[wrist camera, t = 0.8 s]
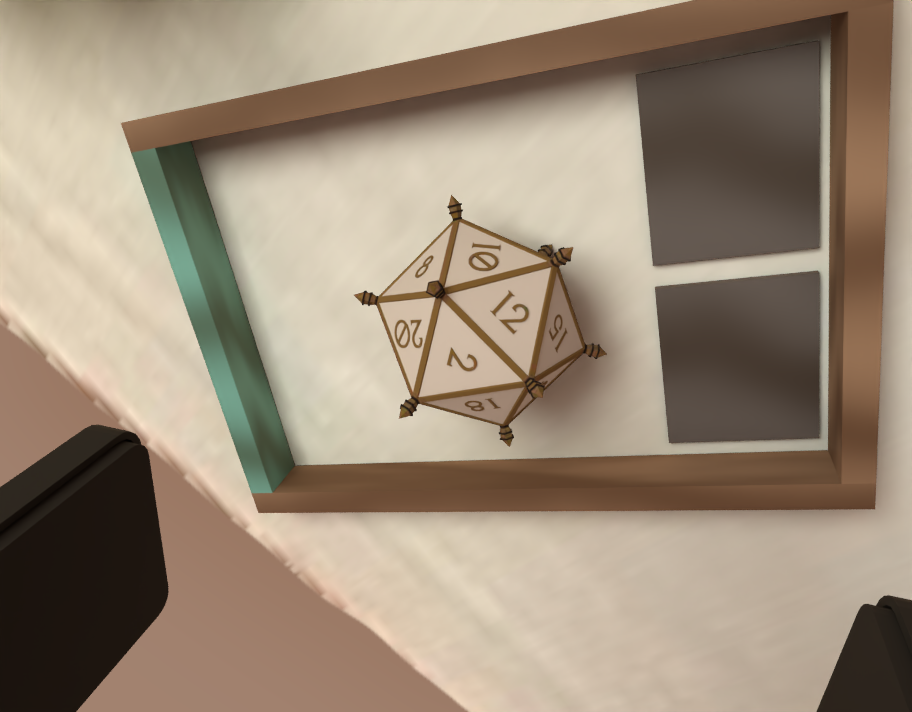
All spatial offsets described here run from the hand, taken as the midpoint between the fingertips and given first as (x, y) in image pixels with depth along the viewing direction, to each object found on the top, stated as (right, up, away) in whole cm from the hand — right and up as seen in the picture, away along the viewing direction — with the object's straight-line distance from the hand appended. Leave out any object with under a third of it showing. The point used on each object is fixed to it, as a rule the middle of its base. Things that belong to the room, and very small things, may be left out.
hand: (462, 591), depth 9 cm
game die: (+2, +6, +22) cm, 23 cm away
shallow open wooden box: (+2, +6, +21) cm, 22 cm away
